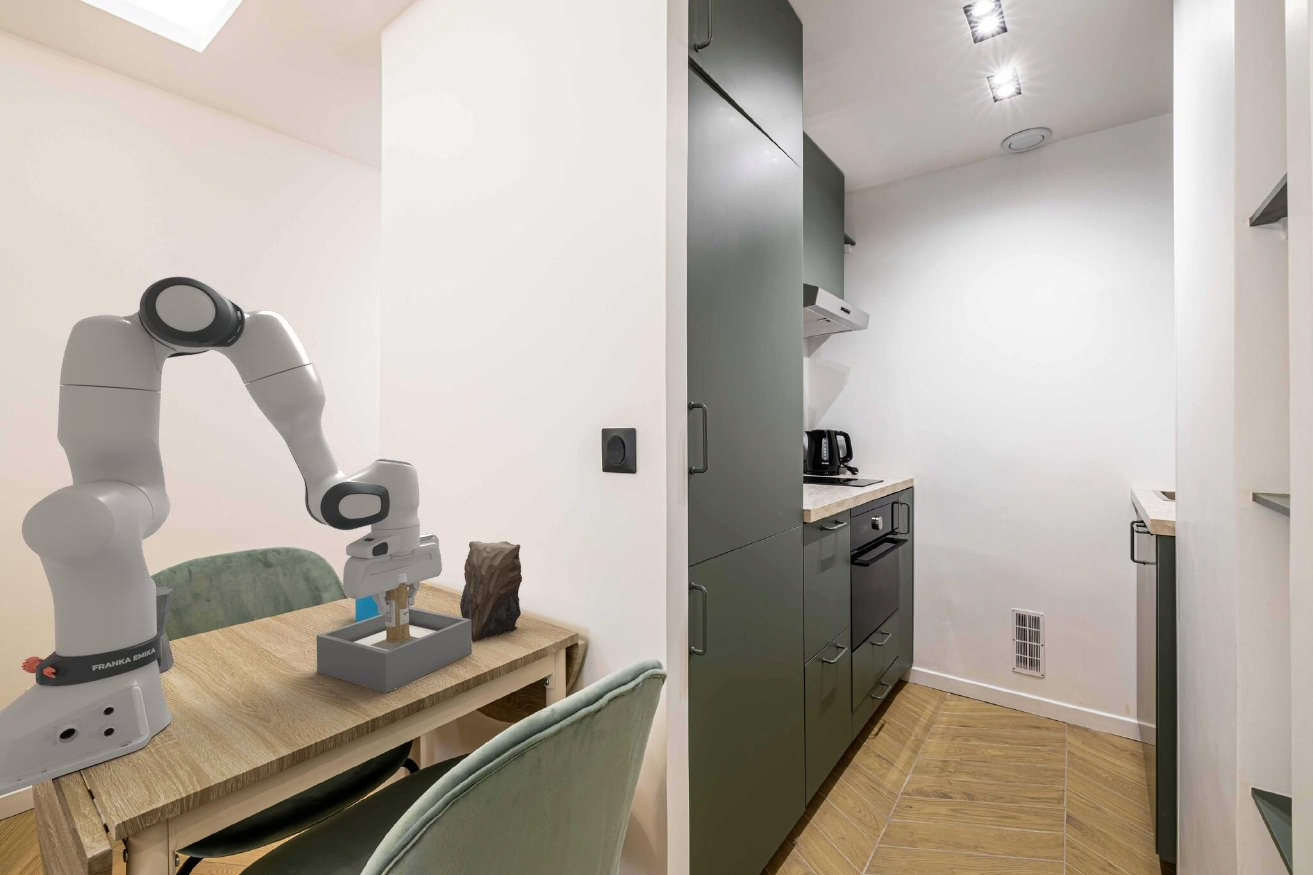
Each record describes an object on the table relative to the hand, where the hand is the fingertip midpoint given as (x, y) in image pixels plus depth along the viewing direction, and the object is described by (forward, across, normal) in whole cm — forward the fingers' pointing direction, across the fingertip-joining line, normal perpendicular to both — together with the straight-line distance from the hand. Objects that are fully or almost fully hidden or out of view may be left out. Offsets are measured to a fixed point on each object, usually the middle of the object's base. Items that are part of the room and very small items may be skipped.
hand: (396, 609), depth 112 cm
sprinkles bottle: (+6, 0, 0) cm, 6 cm away
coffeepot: (+11, +26, -40) cm, 49 cm away
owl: (+11, -21, +3) cm, 24 cm away
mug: (+11, -17, -28) cm, 35 cm away
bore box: (+11, 0, 0) cm, 11 cm away
